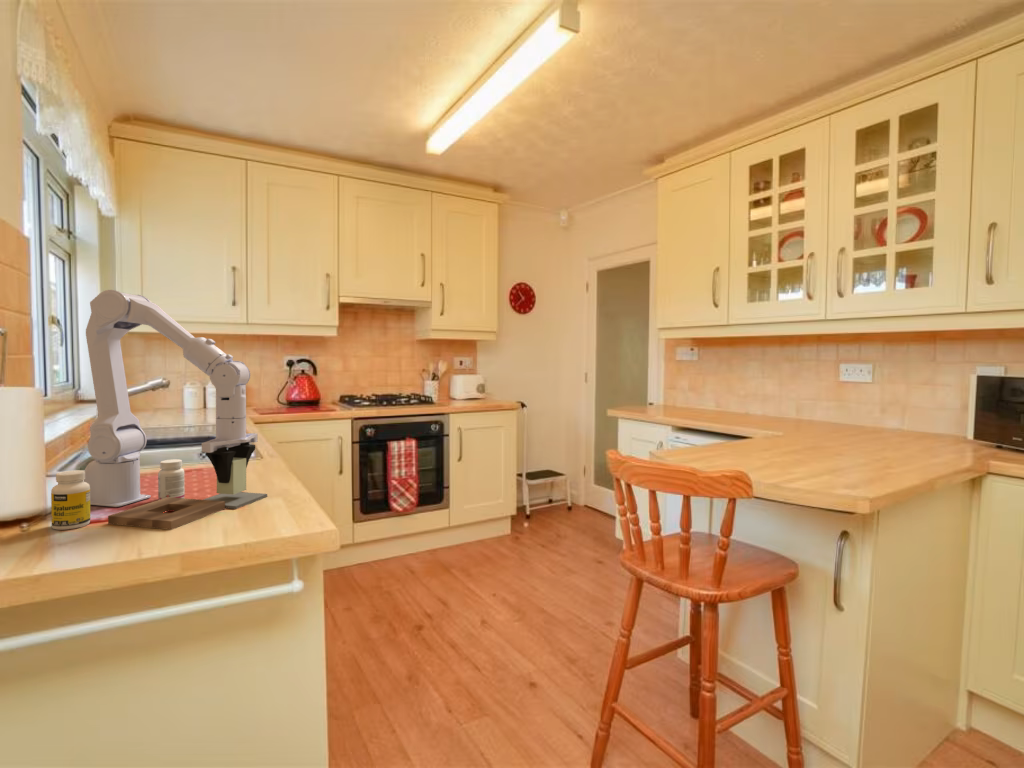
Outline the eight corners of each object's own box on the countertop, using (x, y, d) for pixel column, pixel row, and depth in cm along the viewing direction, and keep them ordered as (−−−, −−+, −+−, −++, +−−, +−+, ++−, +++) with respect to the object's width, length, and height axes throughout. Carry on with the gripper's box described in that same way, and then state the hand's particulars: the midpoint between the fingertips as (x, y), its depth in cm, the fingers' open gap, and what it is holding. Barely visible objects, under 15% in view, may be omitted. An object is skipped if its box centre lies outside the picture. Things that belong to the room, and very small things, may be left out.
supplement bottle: (47, 532, 91) (45, 476, 90) (57, 523, 95) (55, 470, 95) (86, 528, 93) (85, 474, 93) (94, 519, 98) (93, 468, 97)
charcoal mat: (193, 505, 108) (193, 502, 108) (227, 493, 118) (227, 491, 118) (236, 509, 106) (236, 506, 106) (267, 496, 116) (267, 493, 116)
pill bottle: (189, 497, 115) (189, 459, 114) (173, 503, 110) (173, 463, 109) (169, 496, 115) (169, 458, 115) (152, 501, 110) (152, 462, 110)
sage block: (216, 493, 110) (216, 460, 110) (230, 488, 114) (229, 457, 114) (233, 494, 110) (233, 461, 109) (246, 489, 114) (246, 458, 113)
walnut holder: (108, 523, 96) (108, 515, 96) (168, 504, 109) (168, 497, 109) (171, 529, 93) (171, 521, 93) (225, 508, 106) (225, 501, 106)
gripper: (223, 422, 103) (223, 489, 104) (269, 414, 118) (269, 474, 118) (192, 420, 105) (192, 487, 105) (241, 413, 119) (241, 472, 120)
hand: (231, 480), depth 112 cm, fingers closed on sage block, 4 cm apart
